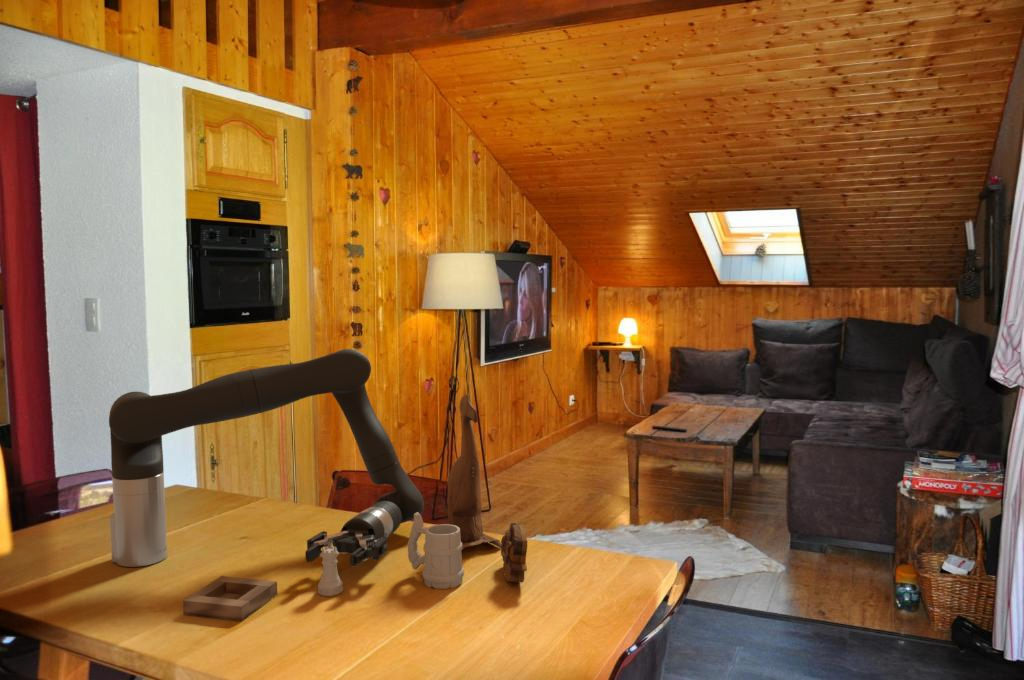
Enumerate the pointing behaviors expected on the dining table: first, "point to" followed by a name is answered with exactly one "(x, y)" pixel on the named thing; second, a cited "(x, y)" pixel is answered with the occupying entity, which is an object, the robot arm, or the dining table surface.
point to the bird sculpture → (467, 484)
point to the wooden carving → (514, 553)
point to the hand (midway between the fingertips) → (330, 559)
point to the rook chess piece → (329, 573)
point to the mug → (437, 553)
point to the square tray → (230, 598)
